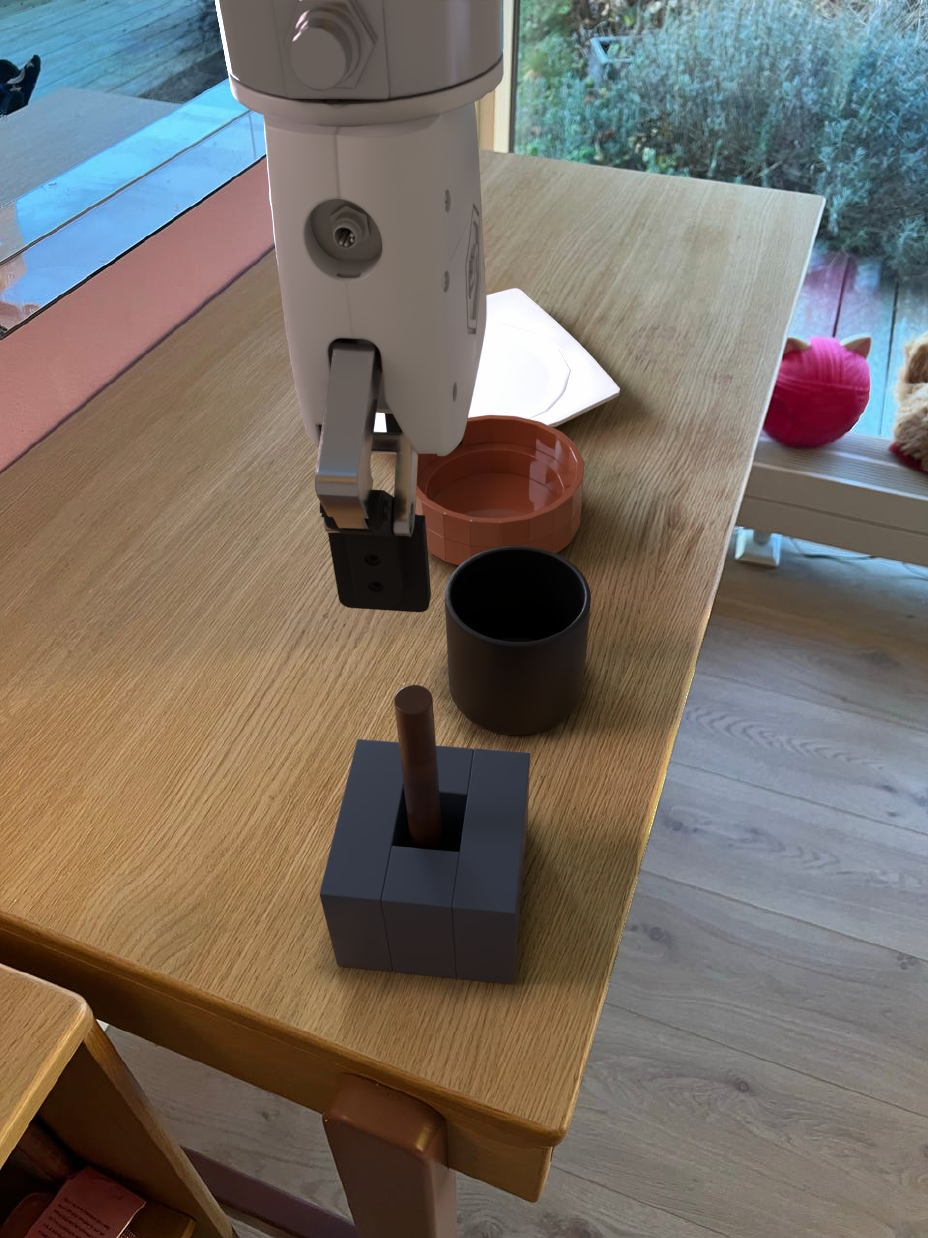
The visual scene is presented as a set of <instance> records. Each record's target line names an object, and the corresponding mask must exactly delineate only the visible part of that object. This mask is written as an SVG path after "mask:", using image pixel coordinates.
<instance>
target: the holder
mask: <svg viewBox="0 0 928 1238" xmlns="http://www.w3.org/2000/svg"><path fill="white" fill-rule="evenodd" d="M353 750H354V751H353V753H352V758H351V762H350V767H349V771H348V775H347V780H346V784H345V788H344V792H343V796H342V799H341V804H340V807H339V812H338V816H337V820H336V824H335V828H334V833H333V836H332V841H331V844H330V849H329V853H328V857H327V859H326V861H327V862H326V865H325V869H324V873H323V877H322V881H321V885H320V889H319V899H320V902H321V906H322V910H323V914H324V919H325V922H326V926H327V931H328V934H329V939H330V942H331V946H332V950H333V953H334V957H335V962H336V966H338V967H343V968H352V969H353V968H354V969H364V970H373V971H381V972H390V973H391V972H394V973H400V974H411V975H421V976H429V977H438V978H439V977H440V978H446V979H447V978H449V979H457V980H466V981H476V982H487V983H496V984H505V985H514V984H515V978H516V977H515V976H516V967H517V966H516V965H517V955H518V952H517V951H518V943H519V932H520V920H521V912H522V911H521V909H522V897H523V886H524V876H525V875H524V874H525V864H526V863H525V862H526V855H527V854H526V853H527V851H526V850H527V841H528V829H529V828H528V827H529V826H528V825H529V804H530V803H529V801H530V800H529V799H530V795H529V794H530V776H531V775H530V773H531V752H525V751H514V750H502V749H501V750H500V749H488V748H472V747H459V746H450V745H449V746H448V745H437V744H436V753H437V766H438V780H439V794H440V807H441V821H442V835H443V848H444V851H441V850H430V849H419V848H411V844H410V835H409V827H408V818H407V809H406V801H405V792H404V784H403V775H402V766H401V758H400V749H399V741H387V740H376V739H375V740H374V739H363V738H357V739H356V742H355V746H354V749H353Z"/></svg>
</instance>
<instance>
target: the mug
mask: <svg viewBox="0 0 928 1238" xmlns="http://www.w3.org/2000/svg"><path fill="white" fill-rule="evenodd" d="M591 604H592V592H591V588H590V585H589V582H588V580H587V578H586V577H585V575H584V574H583V572H582V571H581V570H580V568H578V566H577V565H575V564H574V563H573V562H572V561H570V560H568V559H567V558H565V557H564V556H562V555H560V554H558V553H557V554H556V553H553V552H551V551H548V550H545V549H541V548H536V547H530V546H505V547H498V548H494V549H489V550H486V551H484V552H481V553H479V554H476V555H474V556H472V557H470V558H469V559H468V560H466V561H465V562H463V563H462V564H461V565H460V566H459V565H458V567H456V569H455V570H454V571H453V573H452V574H451V575H450V577H449V579H448V581H447V582H446V586H445V590H444V615H445V632H446V650H447V651H446V652H447V669H448V670H447V671H448V672H447V673H448V686H449V687H448V688H449V693H450V696H451V698H452V700H453V702H454V704H455V705H456V707H457V708H458V709H459V711H460V712H461V713H462V714H463V716H464V717H465V718H467V719H468V720H469V721H471V722H472V723H473V724H475V725H477V726H479V727H481V728H482V729H484V730H487V731H489V732H493V733H497V734H500V735H507V736H527V735H533V734H537V733H542V732H545V731H548V730H550V729H552V728H553V727H556V726H557V725H559V724H561V723H562V722H564V721H565V719H567V718H568V717H569V716H570V715H571V714H572V712H573V711H574V710H575V709H576V708H577V706H578V704H579V703H580V701H581V698H582V695H583V691H584V684H585V683H584V681H585V671H586V659H587V651H588V639H589V627H590V617H591V615H590V614H591V606H592V605H591Z"/></svg>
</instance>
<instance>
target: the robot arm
mask: <svg viewBox="0 0 928 1238" xmlns="http://www.w3.org/2000/svg"><path fill="white" fill-rule="evenodd" d="M214 1H215V6H216V12H217V19H218V23H219V28H220V35H221V41H222V45H223V51H224V57H225V62H226V67H227V73H228V80H229V85H230V90H231V93H232V96H233V97H234V98H235V100H236V102H238V103H239V104H241V106H244V107H245V108H246V109H248V110H250V111H252V112H254V113H257V114H259V115H263V127H264V128H263V129H264V130H263V131H264V141H265V152H266V153H265V154H266V166H267V175H268V186H269V194H268V200H269V203H270V209H271V216H272V217H271V220H272V227H273V238H274V246H275V256H276V263H277V265H276V266H277V271H278V272H277V273H278V282H279V289H280V296H281V297H280V298H281V305H282V312H283V318H284V319H283V320H284V326H285V334H286V339H287V345H288V346H287V347H288V352H289V359H290V366H291V370H292V377H293V382H294V388H295V393H296V397H297V398H296V399H297V402H298V407H299V411H300V416H301V418H302V423H303V426H304V429H305V433H306V435H307V437H308V438H309V439H310V441H311V442H312V443H313V444H314V445H315V446H316V447H317V448H318V449H317V450H318V451H317V457H316V463H315V468H314V469H315V470H314V489H315V494H316V496H317V499H318V500H319V514H321V516H320V517H321V518H323V527H324V531H325V532H326V533H327V536H328V543H329V548H330V554H331V559H332V566H333V573H334V578H335V584H336V585H335V586H336V591H337V596H338V601H339V603H340V604H341V605H342V606H344V607H346V608H349V609H358V610H359V609H360V610H374V611H375V610H376V611H377V610H378V611H390V612H406V613H424V612H427V610H429V608H430V603H431V597H432V590H431V589H432V588H431V577H430V563H429V551H428V547H427V534H426V520H425V515H417V514H415V509H416V489H417V468H418V454H437V455H438V456H446V455H448V454H449V453H451V452H452V451H453V450H454V449H455V448H457V447H459V446H461V445H462V443H463V438H464V432H465V428H466V424H467V420H468V415H469V411H470V406H471V402H472V397H473V392H474V388H475V383H476V378H477V373H478V368H479V363H480V358H481V352H482V347H483V342H484V336H485V329H486V318H487V298H486V295H487V282H486V267H485V264H486V263H485V249H484V232H483V231H484V229H483V209H482V208H483V207H482V206H483V205H482V185H481V166H480V164H481V163H480V148H479V132H478V121H477V110H476V102H477V101H479V100H482V99H484V97H485V96H486V95H488V94H489V93H492V92H494V91H495V89H496V88H497V87H499V85H500V84H501V83H502V81H503V77H504V73H505V72H504V71H505V70H504V69H505V67H504V63H505V62H504V45H505V44H504V42H505V41H504V36H505V35H504V34H505V33H504V28H505V27H504V26H505V25H504V19H505V18H504V0H214ZM376 413H385V421H386V431H387V432H374V427H375V419H376ZM372 454H376V455H379V454H381V455H395V464H394V469H395V470H394V483H393V484H394V486H393V487H394V488H393V495H392V494H390V493H389V492H388V491H386V490H384V489H373V486H374V478H373V475H372V470H371V460H372V459H371V456H372Z"/></svg>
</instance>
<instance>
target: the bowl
mask: <svg viewBox="0 0 928 1238" xmlns="http://www.w3.org/2000/svg"><path fill="white" fill-rule="evenodd" d="M584 474H585V460H584V458H583V457H582V454H581V451H580V450H579V447H578V445H577V444H576V443H575V442H573V441H572V440H571V439H570V438H569V437H568V436H567V435H565V434H564V432H563V431H560V430H558V429H557V428H555V427H553V428H552V427H550V426H548V425H546V424H544V423H542V422H539V421H535V420H531V419H526V418H522V417H518V416H505V415H484V416H477V417H469V418H468V420H467V424H466V428H465V432H464V438H463V443H462V445H461V446H459V447H457V448H455V449H454V450H453V451H452V452H451V453H449V454H448V455H446V456H438V455H437V454H418V468H417V489H416V509H415V514H417V515H425V520H426V534H427V547H428V553H430V554H432V555H433V556H435V557H437V558H438V559H440V560H442V561H444V562H445V563H449V564H452V565H456V566H458V567H459V566H460V565H461V564H462V563H463V562H465V561H466V560H468V559H469V558H470V557H472V556H474V555H476V554H479V553H481V552H484V551H486V550H489V549H494V548H498V547H505V546H530V547H536V548H541V549H545V550H548V551H551V552H553V553H556V554H558V553H559V552H560V551H562V550H563V549H565V548H566V547H567V546H568V545H570V544H571V542H572V541H573V539H574V537H575V535H576V534H577V532H578V530H579V528H580V526H581V516H582V503H583V491H584V477H585V475H584Z"/></svg>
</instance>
